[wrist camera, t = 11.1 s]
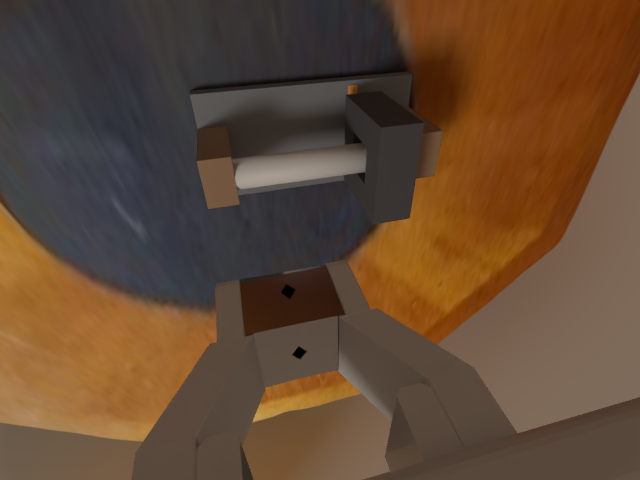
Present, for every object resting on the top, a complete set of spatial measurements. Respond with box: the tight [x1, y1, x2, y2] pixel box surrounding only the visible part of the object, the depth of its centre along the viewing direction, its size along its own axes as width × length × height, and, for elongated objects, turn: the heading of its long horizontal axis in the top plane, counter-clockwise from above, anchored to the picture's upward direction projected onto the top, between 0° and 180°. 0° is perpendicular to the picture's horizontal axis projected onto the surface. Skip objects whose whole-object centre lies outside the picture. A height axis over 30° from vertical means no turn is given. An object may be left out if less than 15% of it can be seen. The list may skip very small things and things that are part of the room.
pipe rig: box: [190, 72, 443, 209], centre depth 40 cm, size 24×12×10 cm, turn 92°
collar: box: [344, 91, 424, 224], centre depth 38 cm, size 4×10×10 cm, turn 2°
